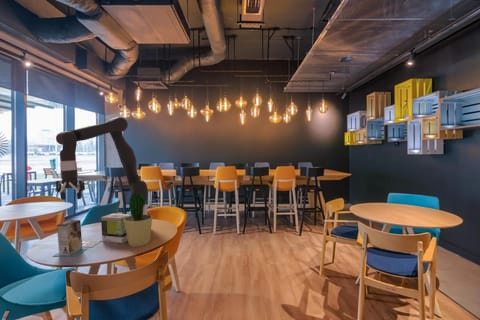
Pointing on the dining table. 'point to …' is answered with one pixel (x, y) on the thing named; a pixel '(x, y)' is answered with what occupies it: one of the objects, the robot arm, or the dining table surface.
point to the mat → (71, 254)
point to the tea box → (114, 228)
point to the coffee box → (69, 237)
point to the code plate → (89, 243)
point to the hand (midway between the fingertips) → (71, 199)
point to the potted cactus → (138, 222)
